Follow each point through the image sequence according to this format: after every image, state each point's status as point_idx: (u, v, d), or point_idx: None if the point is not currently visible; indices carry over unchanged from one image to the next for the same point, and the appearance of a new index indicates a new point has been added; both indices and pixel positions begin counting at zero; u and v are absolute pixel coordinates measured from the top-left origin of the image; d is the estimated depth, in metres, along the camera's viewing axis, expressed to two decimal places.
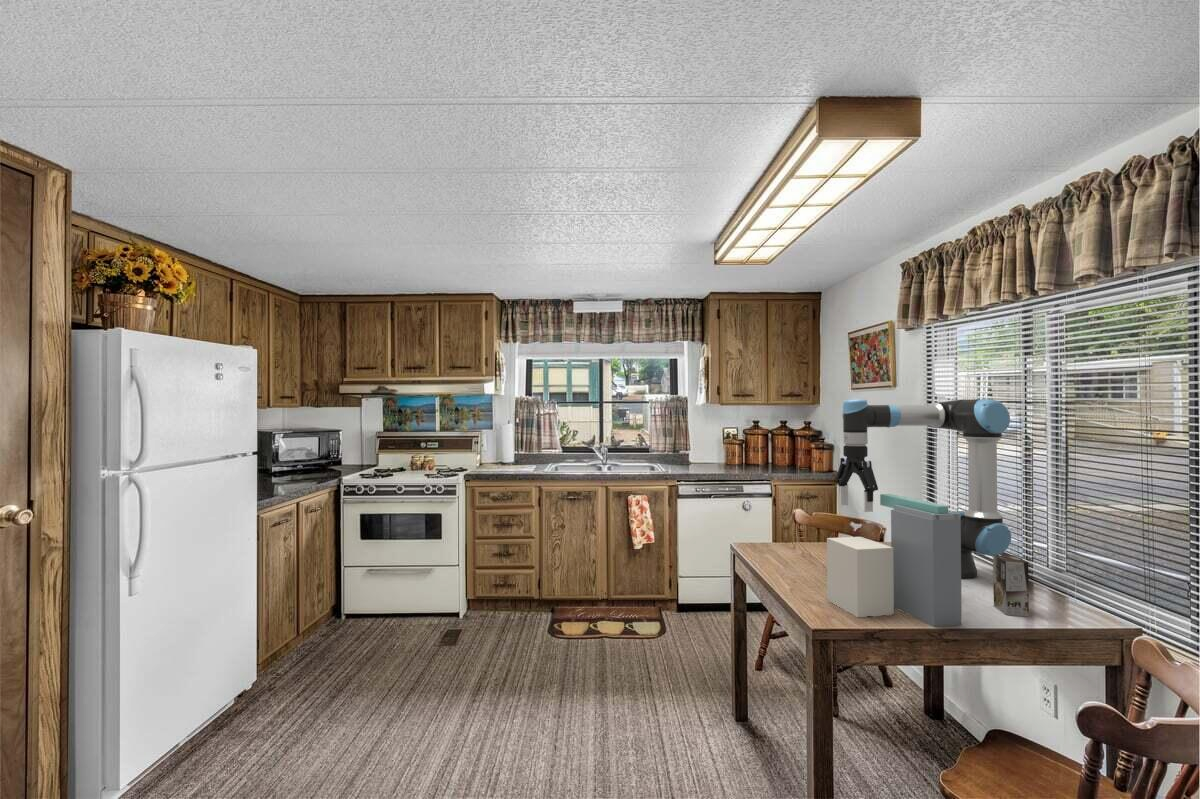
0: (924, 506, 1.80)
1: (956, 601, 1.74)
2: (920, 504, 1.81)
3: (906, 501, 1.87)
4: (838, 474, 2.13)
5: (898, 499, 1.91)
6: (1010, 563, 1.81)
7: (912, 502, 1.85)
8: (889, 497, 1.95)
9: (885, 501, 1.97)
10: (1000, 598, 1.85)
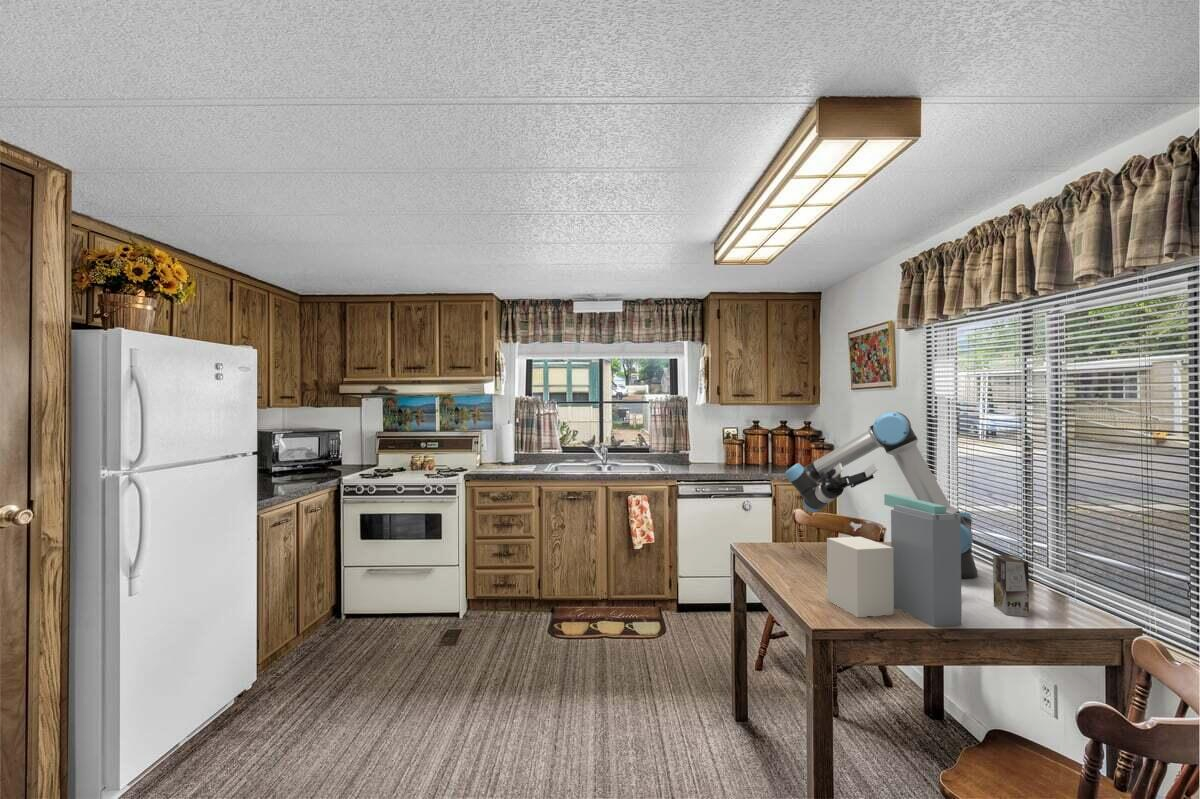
0: (923, 506, 1.80)
1: (956, 601, 1.74)
2: (919, 504, 1.81)
3: (907, 501, 1.87)
4: (864, 481, 2.23)
5: (900, 499, 1.91)
6: (1010, 563, 1.81)
7: (912, 502, 1.85)
8: (892, 497, 1.95)
9: (889, 501, 1.97)
10: (1000, 598, 1.85)
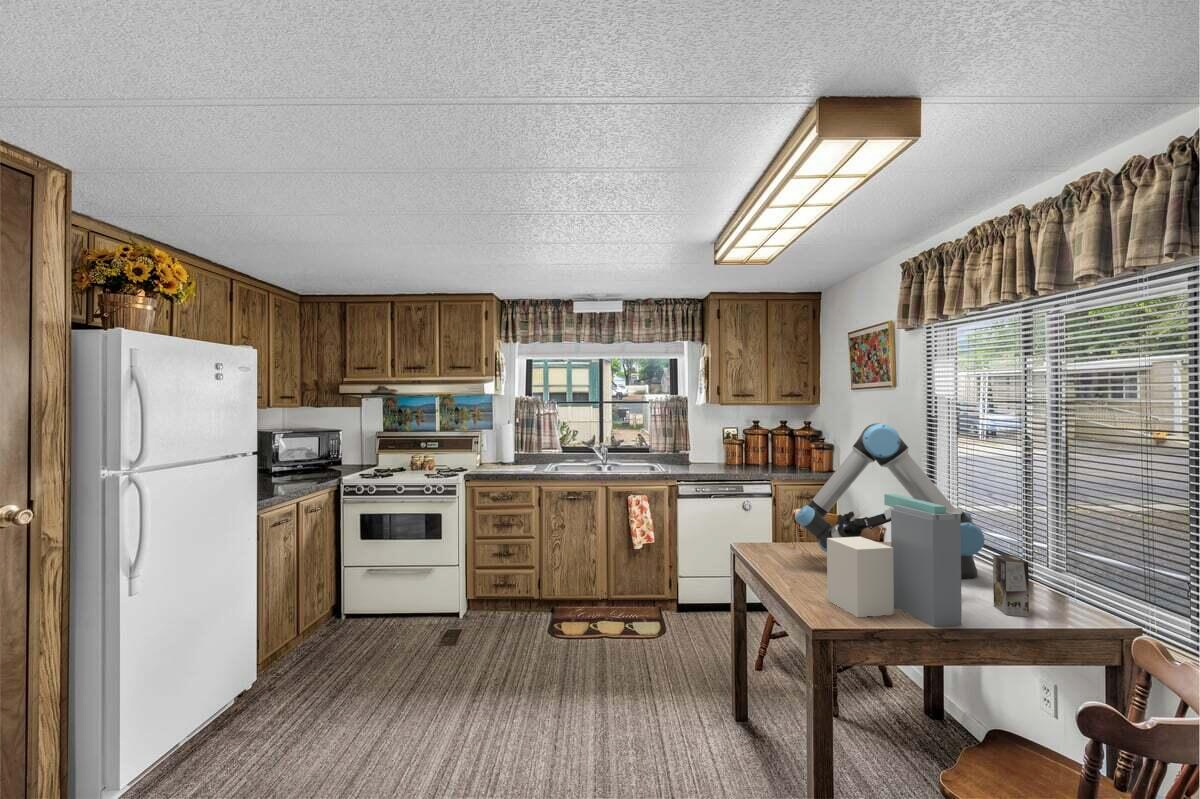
0: (923, 506, 1.80)
1: (956, 601, 1.74)
2: (919, 504, 1.81)
3: (907, 501, 1.87)
4: (884, 522, 2.12)
5: (900, 499, 1.91)
6: (1010, 563, 1.81)
7: (912, 502, 1.85)
8: (892, 497, 1.95)
9: (889, 501, 1.97)
10: (1000, 598, 1.85)
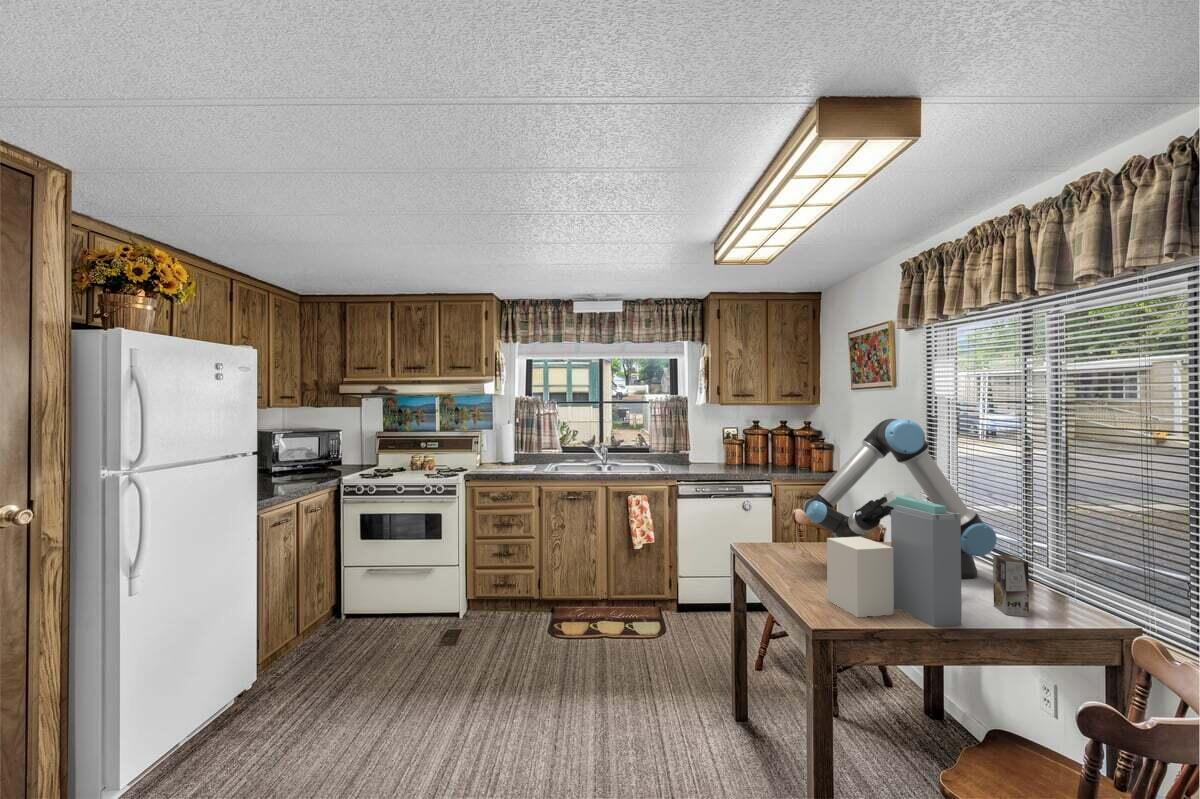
0: (923, 506, 1.80)
1: (956, 601, 1.74)
2: (919, 504, 1.81)
3: (907, 501, 1.87)
4: None
5: (900, 499, 1.91)
6: (1010, 563, 1.81)
7: (912, 502, 1.85)
8: None
9: None
10: (1000, 598, 1.85)
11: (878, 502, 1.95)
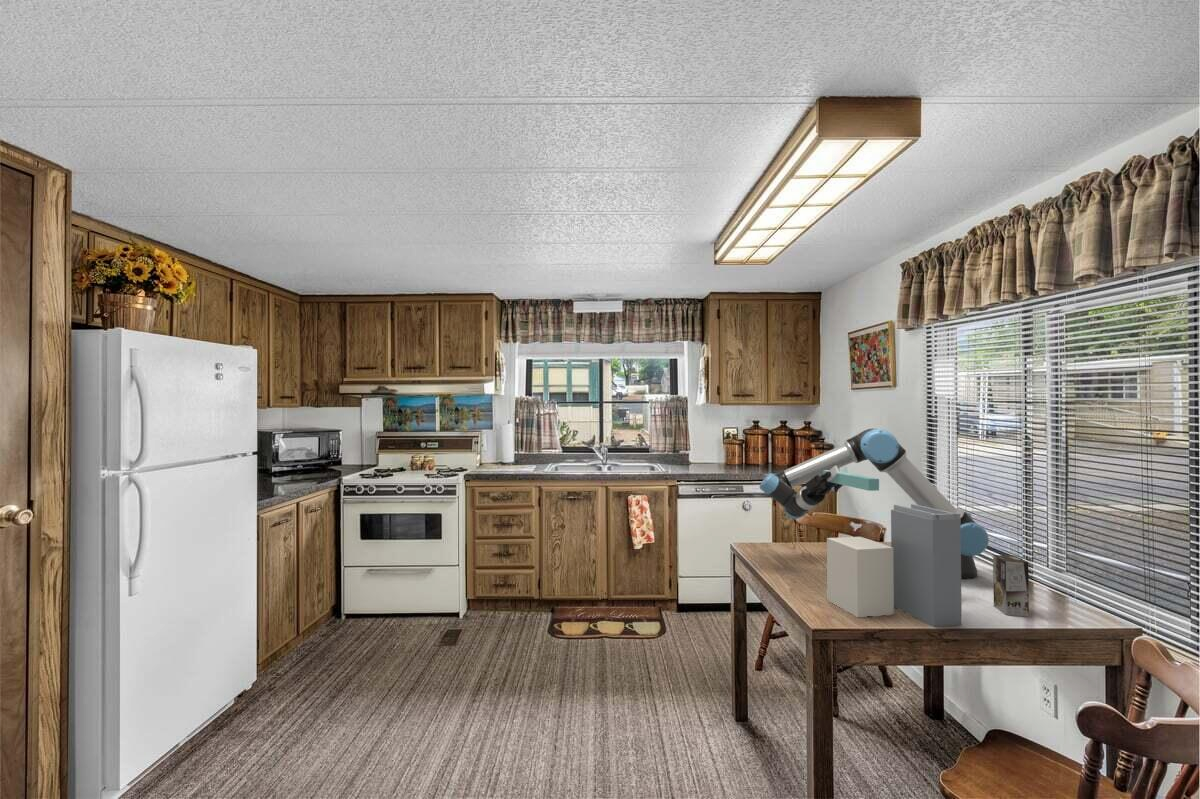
0: (858, 479, 1.89)
1: (956, 601, 1.74)
2: (855, 477, 1.91)
3: (844, 475, 1.97)
4: (841, 485, 2.10)
5: None
6: (1010, 563, 1.81)
7: (848, 476, 1.94)
8: None
9: None
10: (1000, 598, 1.85)
11: (823, 477, 2.05)
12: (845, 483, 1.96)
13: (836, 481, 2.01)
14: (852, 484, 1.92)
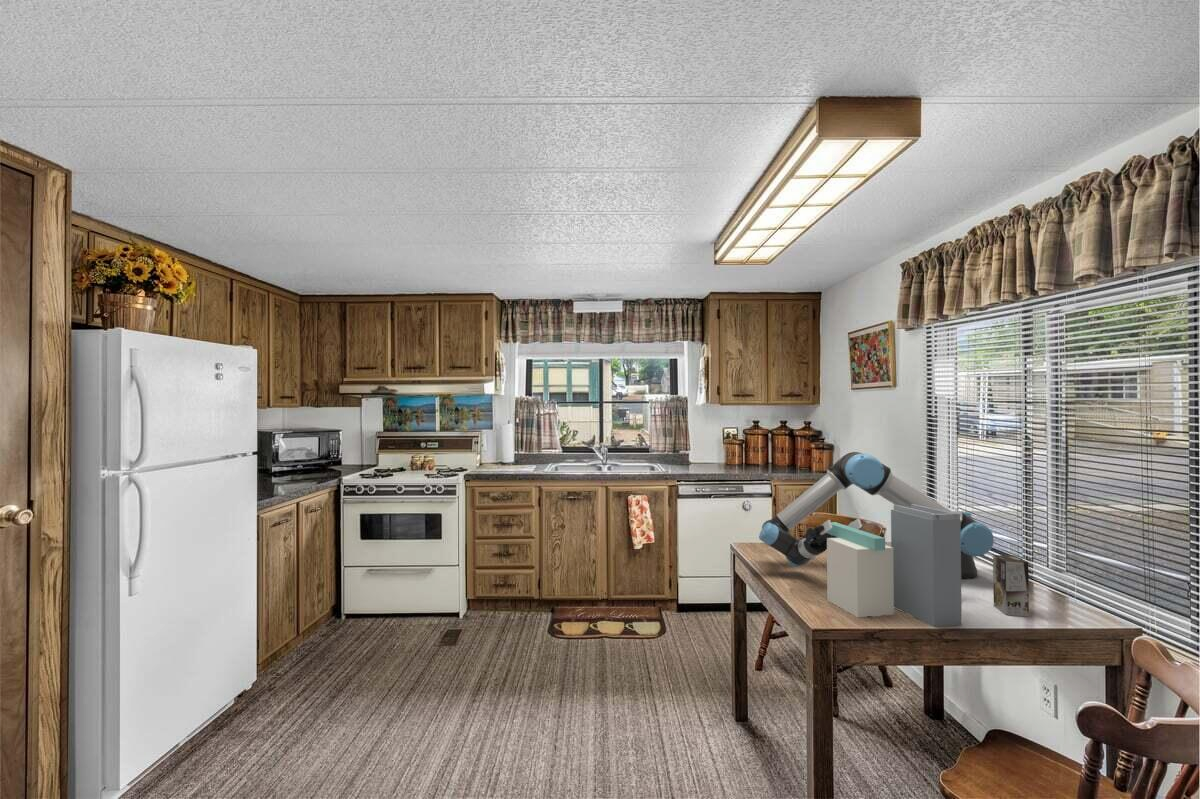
0: (863, 537, 1.84)
1: (956, 601, 1.74)
2: (860, 535, 1.85)
3: (848, 531, 1.91)
4: None
5: (841, 528, 1.95)
6: (1010, 563, 1.81)
7: (853, 532, 1.89)
8: (834, 526, 1.99)
9: (830, 529, 2.01)
10: (1000, 598, 1.85)
11: (816, 530, 2.00)
12: (850, 539, 1.91)
13: (840, 536, 1.96)
14: (857, 541, 1.87)
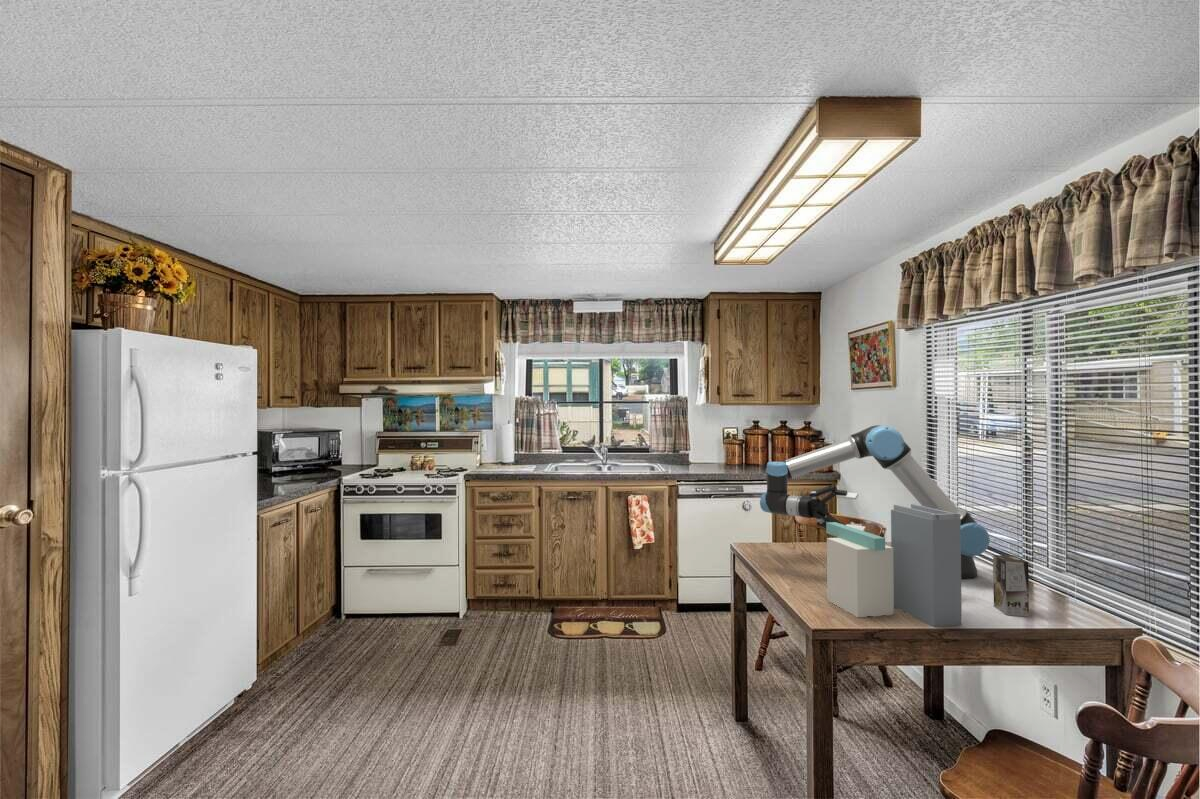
0: (863, 537, 1.84)
1: (956, 601, 1.74)
2: (860, 535, 1.85)
3: (848, 531, 1.91)
4: None
5: (841, 528, 1.95)
6: (1010, 563, 1.81)
7: (853, 532, 1.89)
8: (834, 526, 1.99)
9: (830, 529, 2.01)
10: (1000, 598, 1.85)
11: (837, 490, 2.10)
12: (850, 539, 1.91)
13: (840, 536, 1.96)
14: (857, 541, 1.87)
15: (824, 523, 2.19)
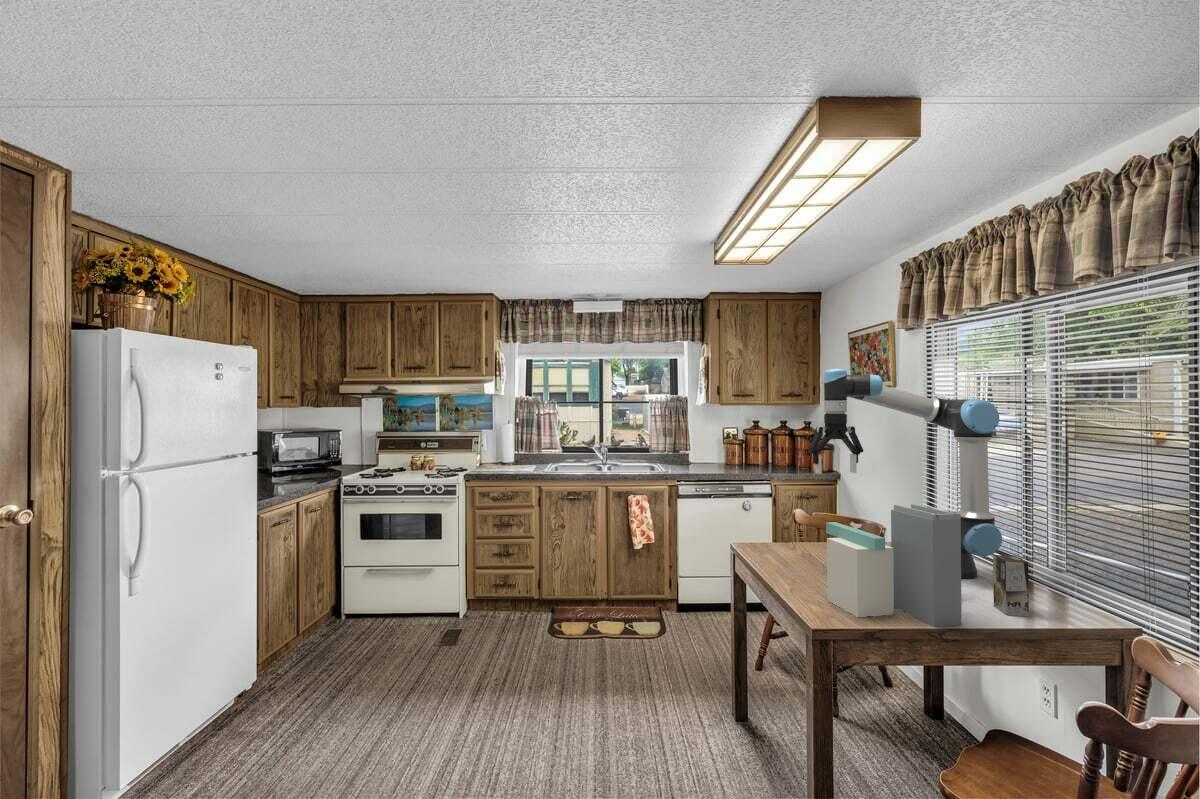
0: (863, 537, 1.84)
1: (956, 601, 1.74)
2: (860, 535, 1.85)
3: (848, 531, 1.91)
4: (816, 443, 2.13)
5: (841, 528, 1.95)
6: (1010, 563, 1.81)
7: (853, 532, 1.89)
8: (834, 526, 1.99)
9: (830, 529, 2.01)
10: (1000, 598, 1.85)
11: None
12: (850, 539, 1.91)
13: (840, 536, 1.96)
14: (857, 541, 1.87)
15: None
